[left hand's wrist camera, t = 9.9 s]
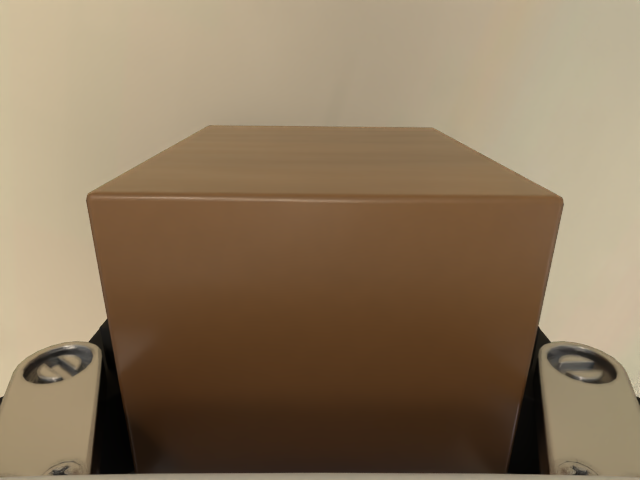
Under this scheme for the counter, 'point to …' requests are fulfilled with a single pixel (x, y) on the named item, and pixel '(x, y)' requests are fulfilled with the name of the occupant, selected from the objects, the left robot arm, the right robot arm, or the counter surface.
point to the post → (322, 300)
